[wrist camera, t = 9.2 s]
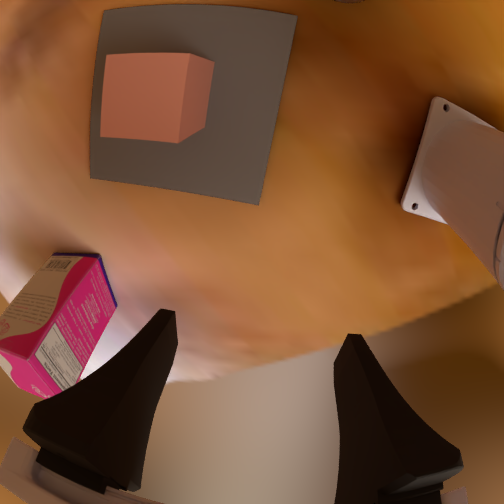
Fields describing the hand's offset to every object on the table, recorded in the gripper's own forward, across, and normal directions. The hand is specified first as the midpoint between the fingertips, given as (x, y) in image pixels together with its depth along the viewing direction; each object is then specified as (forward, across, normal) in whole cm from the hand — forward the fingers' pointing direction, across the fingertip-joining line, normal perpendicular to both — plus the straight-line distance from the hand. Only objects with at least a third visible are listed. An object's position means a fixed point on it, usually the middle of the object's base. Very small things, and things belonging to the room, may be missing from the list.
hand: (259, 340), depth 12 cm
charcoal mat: (+9, +6, -8) cm, 14 cm away
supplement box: (+10, +16, +7) cm, 20 cm away
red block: (+9, +6, -9) cm, 14 cm away
